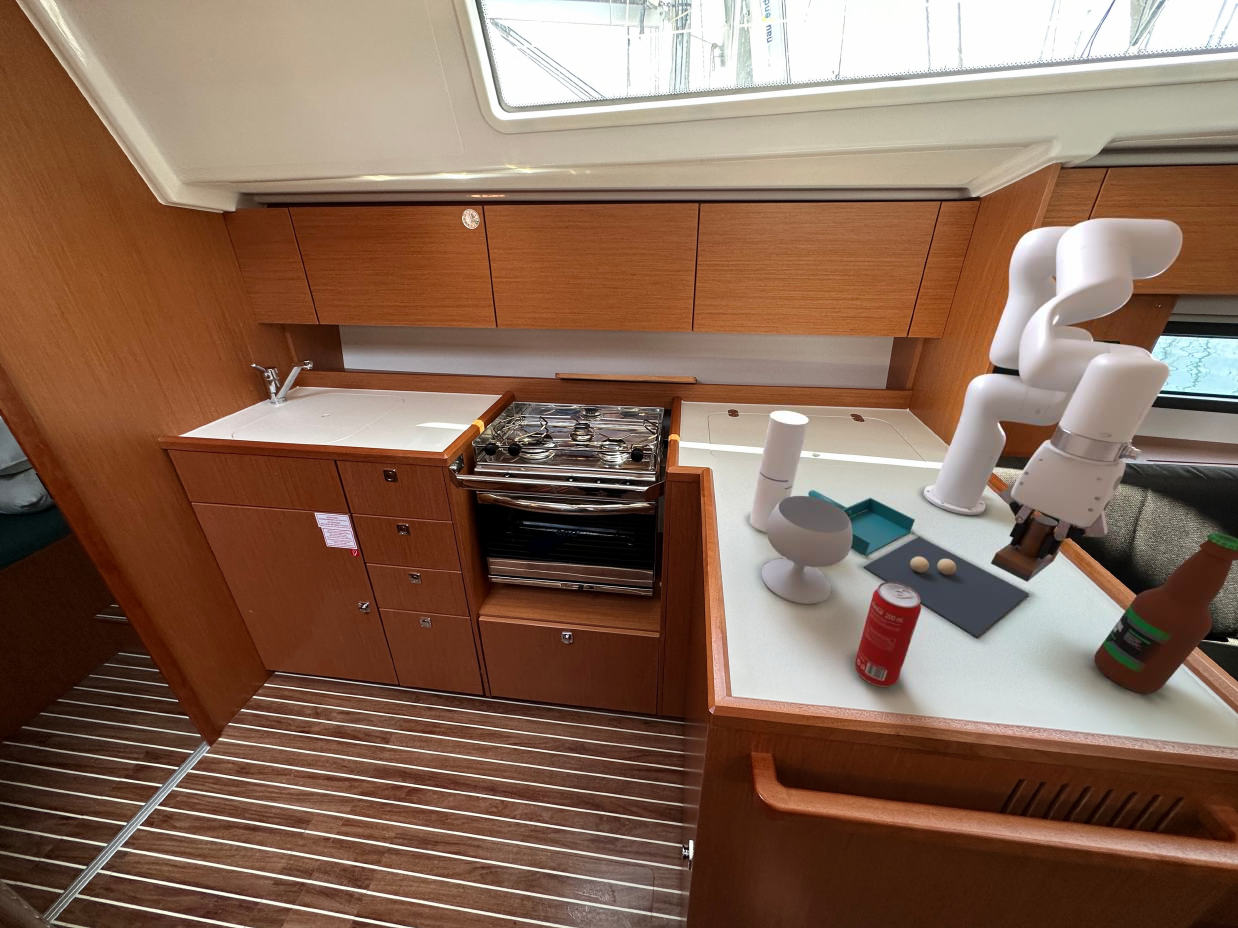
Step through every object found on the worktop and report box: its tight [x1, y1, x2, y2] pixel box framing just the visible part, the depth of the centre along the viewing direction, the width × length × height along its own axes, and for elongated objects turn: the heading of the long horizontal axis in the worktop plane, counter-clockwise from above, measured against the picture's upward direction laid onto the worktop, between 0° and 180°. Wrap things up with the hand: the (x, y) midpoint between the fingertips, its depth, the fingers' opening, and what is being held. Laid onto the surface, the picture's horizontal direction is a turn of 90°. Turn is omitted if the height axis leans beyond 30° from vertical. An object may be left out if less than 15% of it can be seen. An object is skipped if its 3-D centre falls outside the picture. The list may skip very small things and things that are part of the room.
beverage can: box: [854, 581, 922, 688], centre depth 66 cm, size 6×6×15 cm
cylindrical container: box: [749, 410, 809, 533], centre depth 98 cm, size 7×7×25 cm
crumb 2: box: [937, 559, 956, 575], centre depth 89 cm, size 3×3×3 cm
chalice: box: [761, 495, 853, 604], centre depth 83 cm, size 14×14×15 cm
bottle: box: [1093, 532, 1238, 694], centre depth 65 cm, size 7×7×25 cm
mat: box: [862, 536, 1030, 639], centre depth 88 cm, size 20×20×1 cm
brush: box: [990, 514, 1060, 583], centre depth 74 cm, size 10×5×8 cm, turn 122°
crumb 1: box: [910, 557, 929, 573], centre depth 89 cm, size 3×3×3 cm
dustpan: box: [807, 489, 916, 557], centre depth 105 cm, size 20×17×3 cm
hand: (1029, 548), depth 74 cm, fingers closed on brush, 3 cm apart
